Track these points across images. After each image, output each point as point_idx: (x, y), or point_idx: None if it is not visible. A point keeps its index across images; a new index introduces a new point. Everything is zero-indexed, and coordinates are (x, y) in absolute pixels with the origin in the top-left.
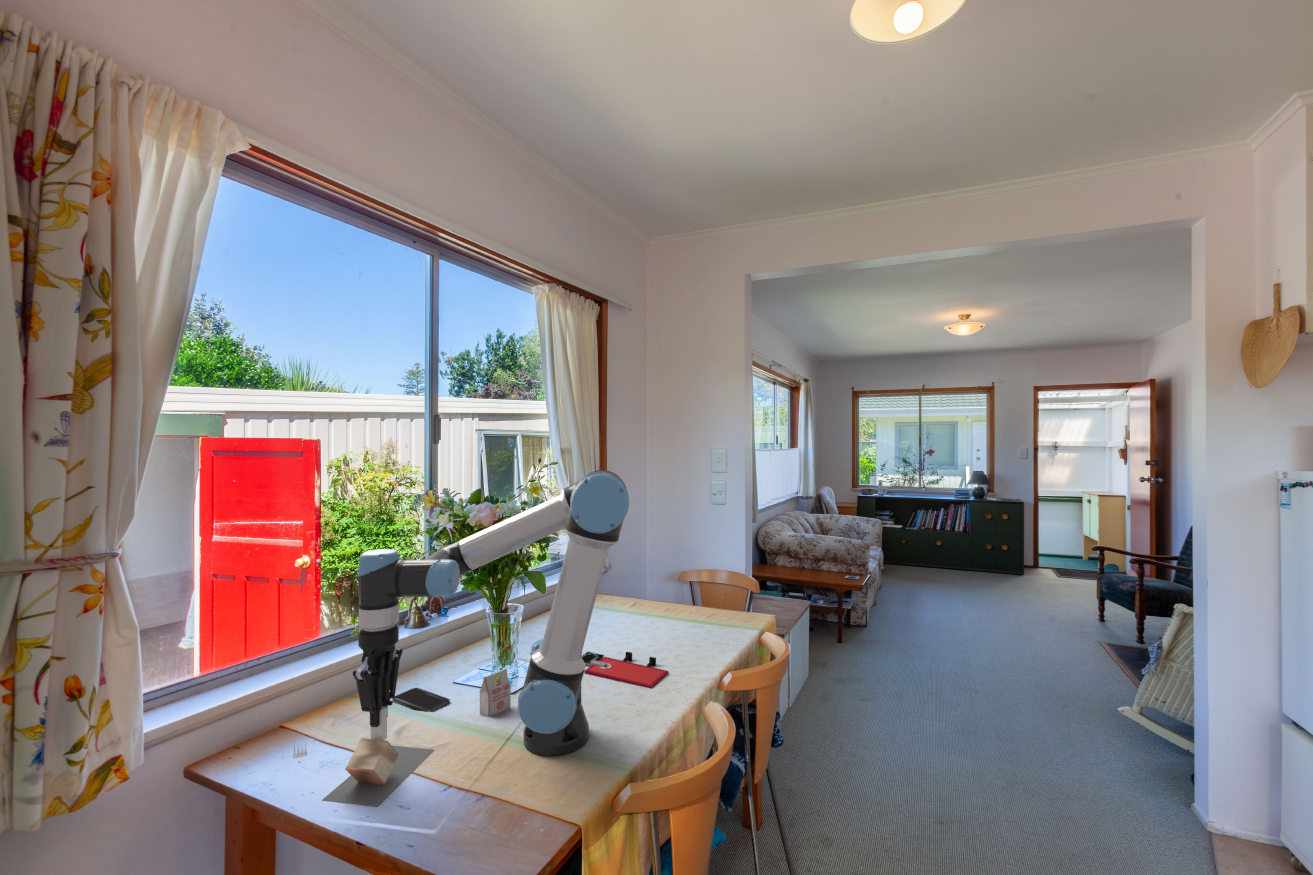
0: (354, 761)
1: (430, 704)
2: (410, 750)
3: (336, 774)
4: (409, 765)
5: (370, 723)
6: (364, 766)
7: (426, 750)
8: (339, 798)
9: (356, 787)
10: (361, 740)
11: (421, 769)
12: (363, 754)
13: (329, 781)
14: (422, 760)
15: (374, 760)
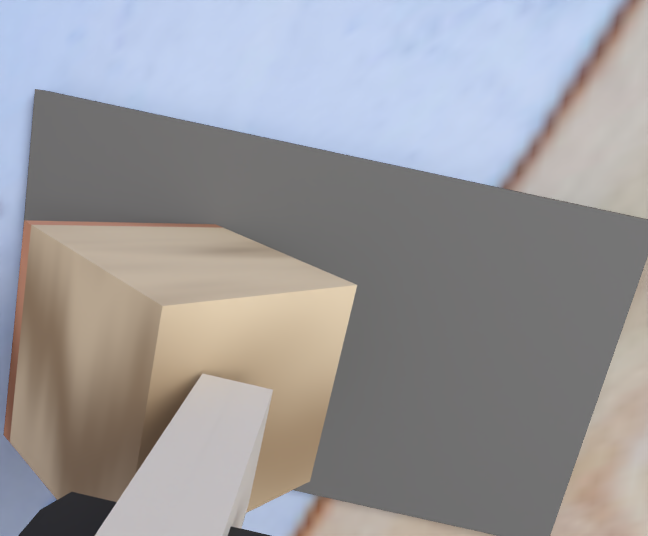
0: (46, 284)
1: None
2: (554, 407)
3: (335, 22)
4: (379, 456)
5: (34, 527)
6: (23, 373)
7: (541, 500)
8: (57, 190)
9: None
10: (146, 311)
11: (362, 512)
12: (73, 351)
13: (258, 16)
14: (428, 509)
15: (42, 447)
